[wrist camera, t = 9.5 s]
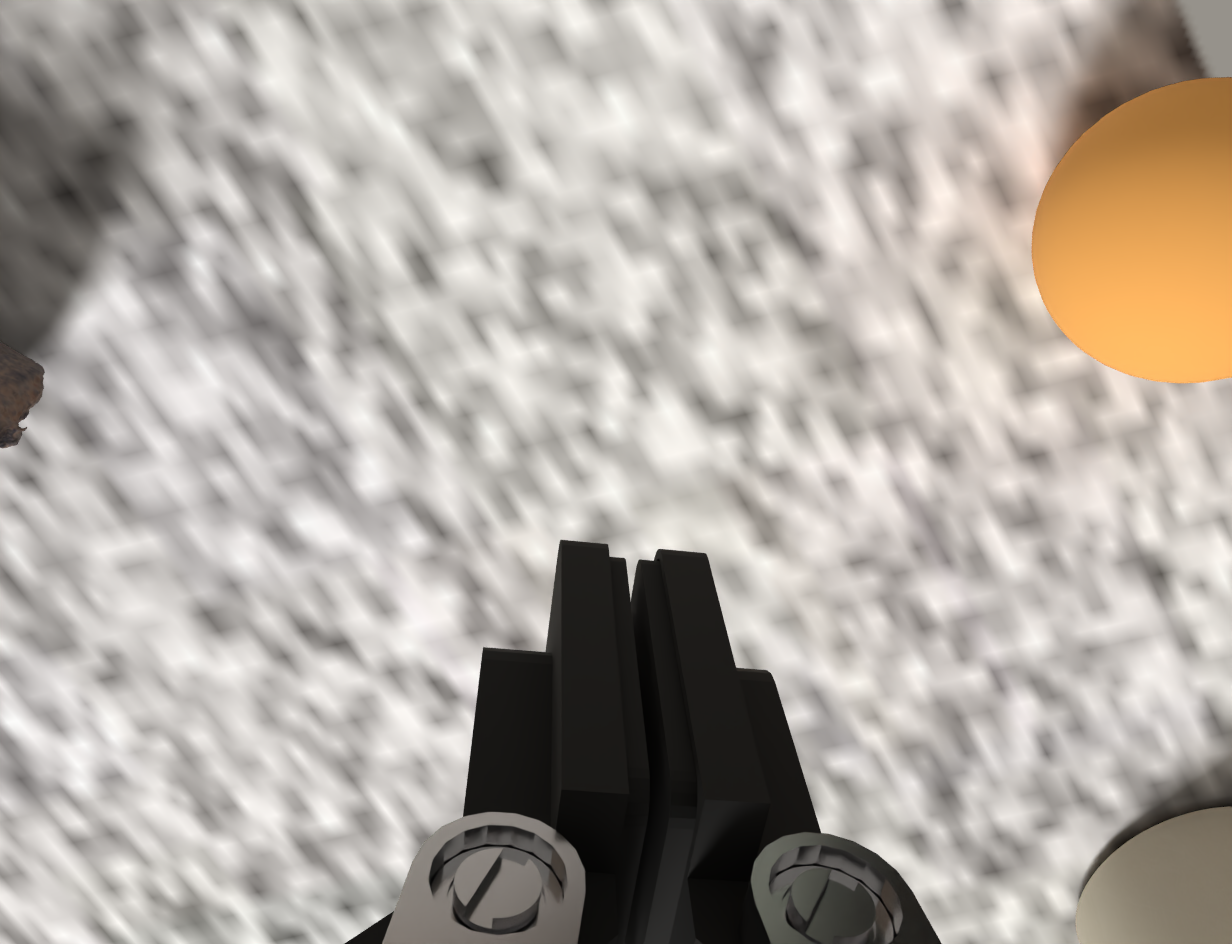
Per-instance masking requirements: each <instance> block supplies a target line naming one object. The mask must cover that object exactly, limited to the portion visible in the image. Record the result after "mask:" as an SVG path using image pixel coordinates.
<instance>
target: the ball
mask: <svg viewBox="0 0 1232 944" xmlns="http://www.w3.org/2000/svg"><path fill="white" fill-rule="evenodd" d="M1032 261H1033V268H1034V275H1035V279H1036V283H1037V286H1038V289H1039V292H1040V294H1041V297H1042V300H1043V302H1044V304H1045V306H1046V308H1047V310H1048V312H1049V313H1050V315H1051V317H1052V318H1053V320H1054V321H1055V322H1056V324H1057V325H1058V326H1059V328H1060V329H1061V330H1062V331H1063V333H1064V334H1065V335H1066V336H1067V337H1068V338H1069V339H1070V340H1071V341H1072V342H1073V343H1074V344H1075V345H1076V346H1077V347H1079V348H1080V349H1081V350H1082V351H1084V352H1085V353H1087V354H1088V355H1090V356H1091V357H1093V358H1094V359H1096V360H1097V361H1099V362H1101V363H1103V364H1104V365H1106V366H1108V367H1110V368H1113V369H1115V370H1118V371H1120V372H1123V373H1125V374H1128V375H1131V376H1135V377H1139V378H1144V379H1148V380H1153V381H1159V382H1170V383H1199V382H1207V381H1213V380H1219V379H1225V378H1231V377H1232V78H1231V77H1226V78H1225V77H1224V78H1201V79H1195V80H1189V81H1183V82H1178V83H1175V84H1171V85H1167V86H1164V87H1161V88H1158V89H1155V90H1151V91H1149V92H1147V93H1145V94H1143V95H1141V96H1138V97H1136V98H1134V99H1132V100H1130V101H1128V102H1126V103H1124V104H1122V105H1121V106H1119V107H1117V108H1116V109H1114V110H1113V111H1111V112H1110V113H1108V114H1106V115H1105V116H1104V117H1103V118H1101V119H1100V120H1099V121H1098V122H1097V123H1095V124H1094V125H1093V126H1092V127H1091V128H1089V129H1088V130H1087V131H1086V132H1085V133H1084V134H1082V136H1081V137H1080V138H1079V139H1078V140H1077V141H1076V142H1075V143H1074V144H1073V145H1072V146H1071V147H1070V149H1069V150H1068V151H1067V153H1066V154H1065V155H1064V157H1063V158H1062V160H1061V161H1060V162H1059V164H1058V165H1057V167H1056V168H1055V170H1054V171H1053V173H1052V175H1051V177H1050V179H1049V181H1048V183H1047V184H1046V186H1045V189H1044V191H1043V194H1042V197H1041V200H1040V202H1039V205H1038V208H1037V211H1036V216H1035V221H1034V226H1033V232H1032Z"/></svg>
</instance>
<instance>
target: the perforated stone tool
mask: <svg viewBox="0 0 1232 944" xmlns="http://www.w3.org/2000/svg"><path fill="white" fill-rule="evenodd" d="M44 373H45V372H44V368H43V367H42V366H41V365H39V364H38V363H36V362H34V361H33V360H32V359H30V358H28V357H26V356H24V355H22V354H20V353H19V352H17V351H15V350H13V349H12V348H10V347H9V346H7V345H5V344H3V343H2V342H0V448H7V447H10V446H14V445H17V444H18V442H19V440H20V438H21V436H22V431H25V429H27V427H26V428H23V429H22V428H20V427H19V426H18V425H19V422H20V421H21V420H24V419H25V418H26V417H27V415H28V414H29V409H30V408H31V407H33V406H34V405H35V404H36V403H38V402H39V400H40V398H41V397H42V391H43V389H44V387H43V379H44V378H43V375H44Z"/></svg>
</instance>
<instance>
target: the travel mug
mask: <svg viewBox="0 0 1232 944" xmlns="http://www.w3.org/2000/svg"><path fill="white" fill-rule="evenodd" d="M1075 924H1076V932H1077V936H1078V940H1079V942H1080V944H1232V807H1218V808H1210V809H1204V810H1199V811H1195V812H1191V813H1187V814H1184V815H1180V816H1177V817H1174V818H1172V819H1169V820H1167V821H1164V822H1162V823H1160V824H1157V825H1155V826H1153V827H1151V828H1149V829H1147V830H1145V831H1144V832H1142V833H1140V834H1138V835H1137V836H1135V837H1134V838H1132V839H1130V840H1129V841H1128V842H1126V843H1125V844H1123V845H1122V846H1121V847H1119V848H1118V849H1117V850H1116V851H1115V852H1114V853H1112V854H1111V855H1110V856H1109V857H1108V858H1107V859H1106V860H1105V861H1104V862H1103V863H1102V864H1101V865H1100V867H1099V868H1098V869H1097V870H1096V871H1095V873H1094V874H1093V875H1092V877H1091V878H1090V880H1089V881H1088V883H1087V885H1086V886H1085V888H1084V890H1083V892H1082V895H1081V897H1080V900H1079V903H1078V906H1077V911H1076V923H1075Z"/></svg>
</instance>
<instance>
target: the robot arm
mask: <svg viewBox="0 0 1232 944" xmlns="http://www.w3.org/2000/svg"><path fill="white" fill-rule="evenodd" d="M345 944H941V942H940V940H939V938H938V936H937V935H936V933H935V931H934V929H933V928H932V926H931V924H930V922H929V920H928V919H927V917H926V915H925V913H924V911H923V910H922V908H921V906H920V904H919V903H918V901H917V899H916V897H915V895H914V894H913V892H912V890H911V889H910V888H909V886H908V885H907V884H906V882H905V881H904V880H903V878H902V877H901V876H900V874H899V873H898V872H897V870H895V869H894V868H893V867H892V866H891V865H889V864H888V863H887V862H886V861H885V860H883V859H882V858H881V857H880V856H879V855H878V854H876V853H874V852H872V851H870V850H869V849H867V848H865V847H863V846H861V845H859V844H857V843H856V842H854V841H851V840H847V839H844V838H841V837H837V836H834V835H831V834H823V833H821V831H820V828H819V824H818V821H817V818H816V815H815V811H814V808H813V805H812V801H811V798H810V795H809V792H808V788H807V785H806V782H805V779H804V775H803V772H802V769H801V766H800V762H799V759H798V756H797V753H796V749H795V746H794V743H793V739H792V736H791V733H790V730H789V726H788V723H787V720H786V717H785V713H784V710H783V707H782V704H781V700H780V697H779V694H778V691H777V687H776V684H775V681H774V679H773V677H772V675H771V673H770V672H768V671H767V670H757V669H744V668H736V666H735V662H734V658H733V654H732V650H731V646H730V643H729V639H728V635H727V631H726V627H725V623H724V619H723V615H722V611H721V607H720V603H719V600H718V596H717V592H716V588H715V584H714V580H713V576H712V572H711V568H710V564H709V560H708V557H707V555H706V554H705V553H697V552H687V551H676V550H665V549H658V550H657V552H656V555H655V559H654V561H649V560H639V561H638V564H637V568H636V573H635V579H634V585H633V591H632V597H631V602H630V593H629V584H628V575H627V566H626V560H625V558H616V557H609V548H608V544H600V543H589V542H578V541H568V540H560V544H559V550H558V557H557V565H556V573H555V581H554V589H553V597H552V605H551V613H550V621H549V629H548V637H547V645H546V652H535V651H523V650H510V649H498V648H486V647H483V653H482V661H481V669H480V678H479V686H478V695H477V703H476V712H475V720H474V729H473V737H472V746H471V754H470V762H469V771H468V779H467V788H466V796H465V805H464V813H463V817H462V818H460V819H458V820H455V821H453V822H451V823H449V824H446V825H444V826H442V827H441V828H440V829H439V830H437V831H436V832H435V833H434V834H433V835H431V836H430V837H429V838H428V839H427V840H426V841H424V843H423V845H422V846H421V848H420V850H419V851H418V853H417V855H416V856H415V858H414V860H413V861H412V864H411V867H410V870H409V872H408V875H407V878H406V880H405V883H404V886H403V889H402V891H401V894H400V897H399V899H398V902H397V905H396V907H395V910H394V911H393V912H392V913H390V914H389V915H387V916H386V917H384V918H383V919H381V920H380V921H378V922H377V923H375V924H374V925H372V926H371V927H369V928H368V929H366V930H365V931H363V932H362V933H360V934H359V935H357V936H356V937H354V938H353V939H351V940H349V941H348V942H346V943H345Z"/></svg>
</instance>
